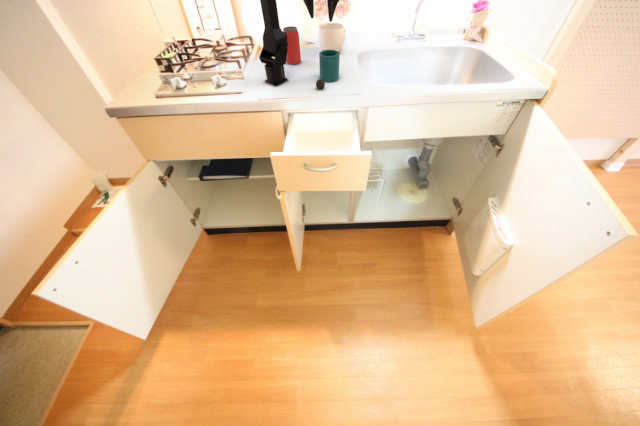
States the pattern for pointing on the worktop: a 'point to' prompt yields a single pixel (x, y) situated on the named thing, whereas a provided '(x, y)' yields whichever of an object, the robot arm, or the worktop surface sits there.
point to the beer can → (293, 45)
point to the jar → (329, 65)
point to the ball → (320, 84)
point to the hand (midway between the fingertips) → (321, 19)
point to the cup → (331, 36)
